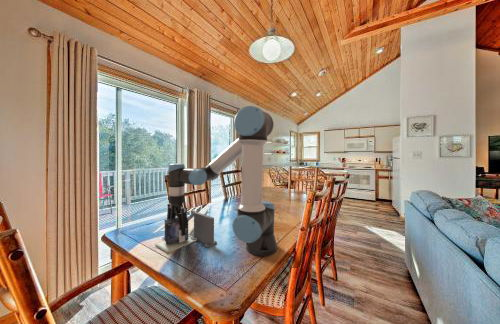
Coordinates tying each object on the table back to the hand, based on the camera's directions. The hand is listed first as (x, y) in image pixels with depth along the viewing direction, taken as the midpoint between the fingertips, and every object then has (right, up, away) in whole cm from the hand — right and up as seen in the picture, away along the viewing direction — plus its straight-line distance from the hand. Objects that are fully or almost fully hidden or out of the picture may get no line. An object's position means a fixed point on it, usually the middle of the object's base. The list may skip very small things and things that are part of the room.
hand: (177, 238), depth 99 cm
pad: (0, -2, 0) cm, 2 cm away
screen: (+13, -2, +2) cm, 13 cm away
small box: (0, -1, 0) cm, 1 cm away
